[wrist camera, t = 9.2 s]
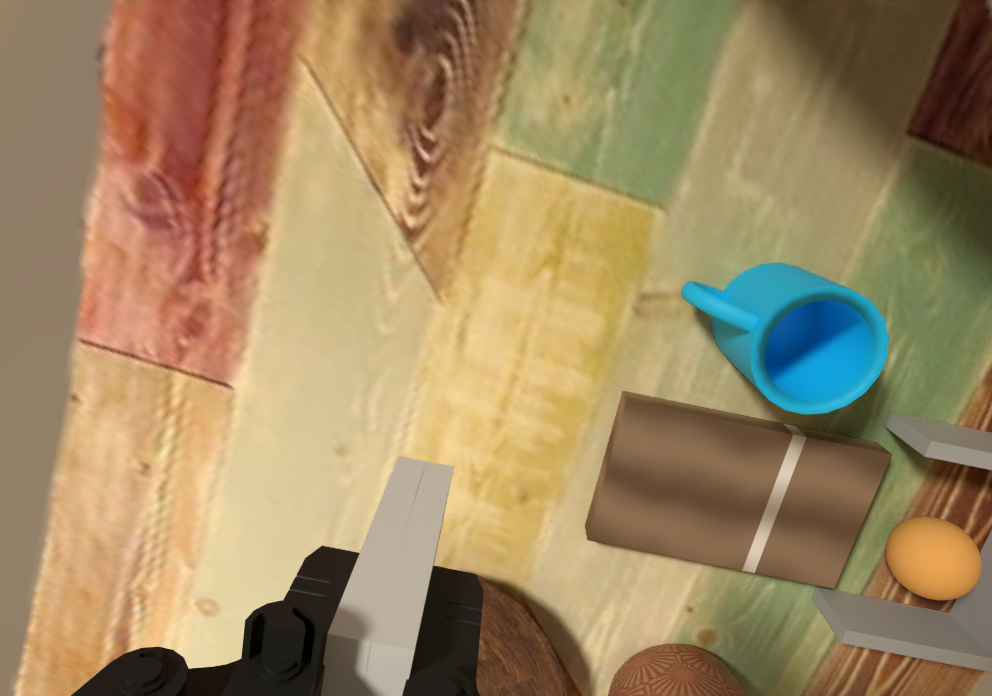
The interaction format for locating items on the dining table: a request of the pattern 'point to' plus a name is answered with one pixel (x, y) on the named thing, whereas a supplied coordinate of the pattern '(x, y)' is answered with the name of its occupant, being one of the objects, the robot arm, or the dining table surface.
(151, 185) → the dining table surface
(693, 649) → the planter
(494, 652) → the bowl
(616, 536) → the board
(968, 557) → the ball
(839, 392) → the mug
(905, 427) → the grey frame
